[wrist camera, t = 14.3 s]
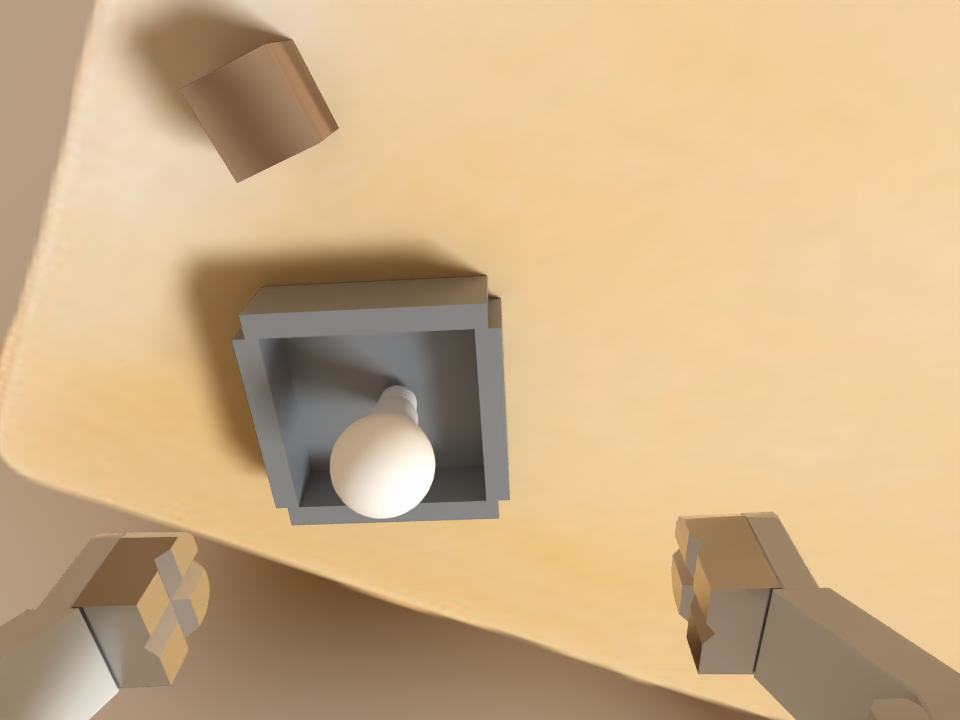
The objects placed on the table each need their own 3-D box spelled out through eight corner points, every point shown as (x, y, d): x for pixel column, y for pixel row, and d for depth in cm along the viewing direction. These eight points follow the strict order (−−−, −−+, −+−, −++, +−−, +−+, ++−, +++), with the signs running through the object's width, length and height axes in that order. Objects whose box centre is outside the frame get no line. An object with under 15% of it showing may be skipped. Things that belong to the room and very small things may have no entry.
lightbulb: (423, 443, 47) (405, 555, 37) (343, 412, 46) (304, 519, 36) (458, 377, 45) (448, 478, 35) (374, 342, 43) (340, 437, 34)
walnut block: (293, 39, 36) (265, 43, 31) (339, 127, 38) (319, 143, 33) (217, 80, 37) (179, 89, 32) (265, 163, 39) (236, 183, 34)
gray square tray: (499, 275, 42) (500, 302, 38) (509, 477, 49) (510, 518, 45) (250, 287, 42) (225, 315, 38) (297, 484, 50) (280, 525, 46)
